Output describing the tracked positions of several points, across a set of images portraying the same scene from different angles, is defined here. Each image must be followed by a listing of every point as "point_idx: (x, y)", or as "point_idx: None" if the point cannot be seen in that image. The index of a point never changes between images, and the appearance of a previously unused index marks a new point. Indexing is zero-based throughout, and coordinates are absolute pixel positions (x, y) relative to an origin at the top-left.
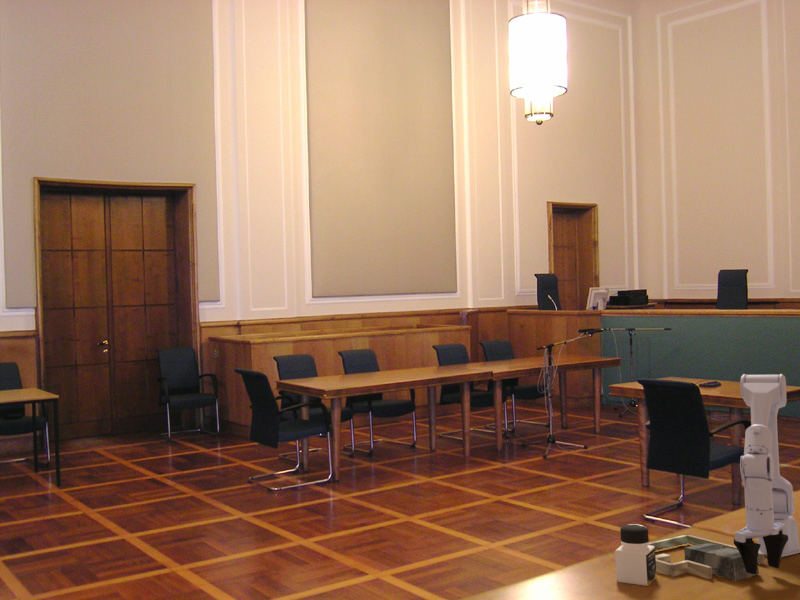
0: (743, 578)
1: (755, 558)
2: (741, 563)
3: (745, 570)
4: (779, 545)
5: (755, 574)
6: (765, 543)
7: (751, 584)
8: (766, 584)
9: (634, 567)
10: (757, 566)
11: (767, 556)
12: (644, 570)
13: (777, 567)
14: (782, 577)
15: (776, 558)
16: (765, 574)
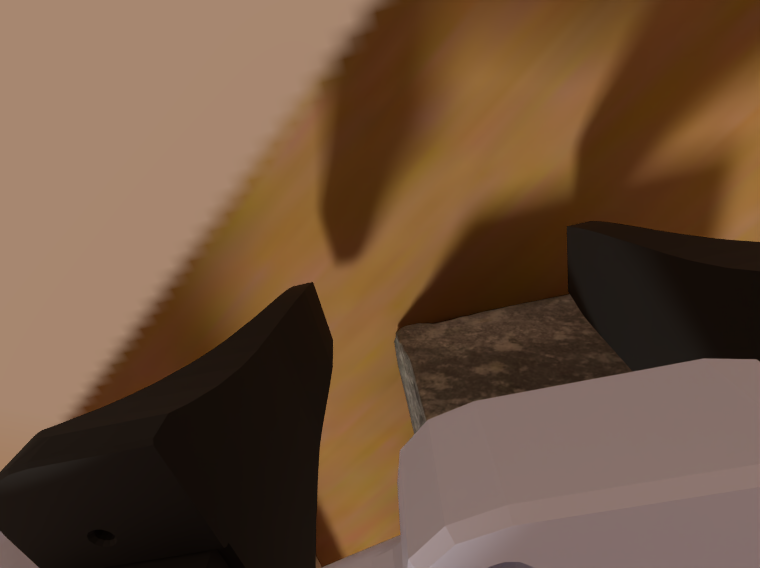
0: (548, 299)
1: (699, 246)
2: (606, 360)
3: (541, 331)
4: (243, 384)
5: (431, 326)
6: (314, 508)
7: (601, 188)
8: (513, 146)
9: None
10: (412, 360)
11: (326, 396)
12: None
13: (307, 284)
14: (296, 235)
15: (298, 324)
16: (355, 321)
